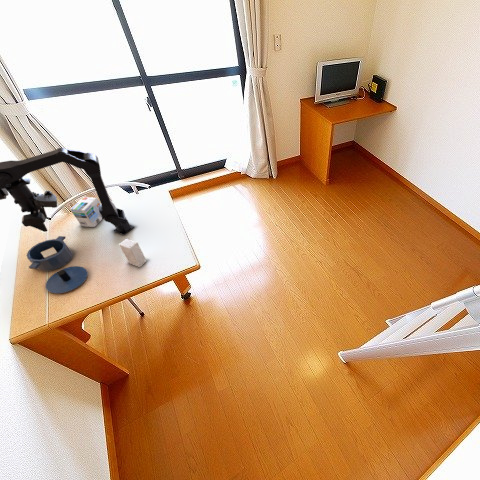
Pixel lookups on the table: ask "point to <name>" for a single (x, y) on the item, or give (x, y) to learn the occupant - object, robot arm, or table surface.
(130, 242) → the cosmetic box
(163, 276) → the table surface
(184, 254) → the table surface
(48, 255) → the block
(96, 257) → the table surface
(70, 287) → the lid
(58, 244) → the pot
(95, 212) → the light bulb box
